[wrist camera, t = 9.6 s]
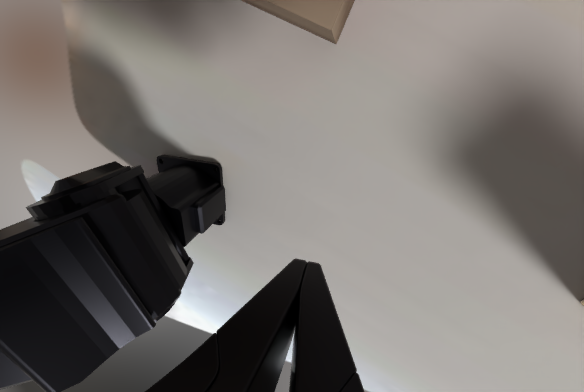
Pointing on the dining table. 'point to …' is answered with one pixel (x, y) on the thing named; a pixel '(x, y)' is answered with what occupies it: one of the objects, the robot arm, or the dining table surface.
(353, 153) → the dining table surface
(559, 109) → the dining table surface
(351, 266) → the dining table surface
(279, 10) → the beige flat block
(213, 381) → the robot arm
